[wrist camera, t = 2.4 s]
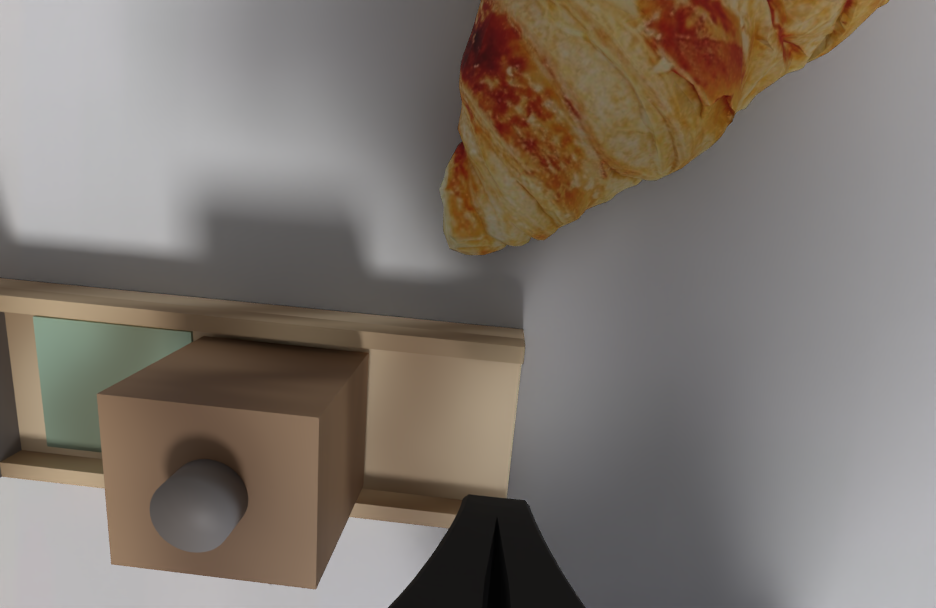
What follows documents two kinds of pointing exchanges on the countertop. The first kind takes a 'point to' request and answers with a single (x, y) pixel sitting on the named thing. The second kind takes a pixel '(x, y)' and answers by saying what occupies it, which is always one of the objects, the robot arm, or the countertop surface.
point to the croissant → (609, 99)
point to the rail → (189, 318)
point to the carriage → (235, 459)
